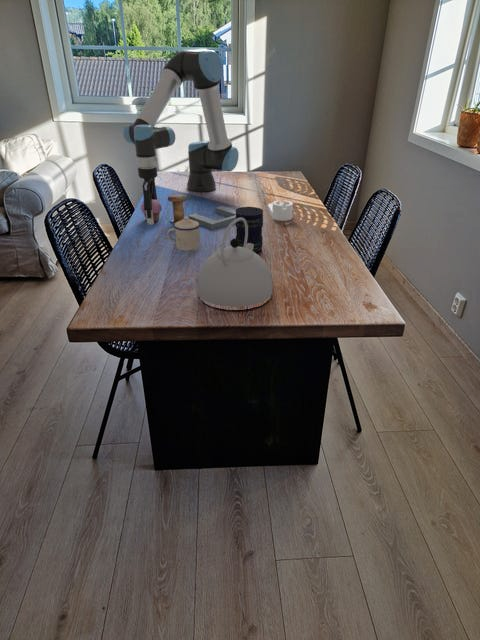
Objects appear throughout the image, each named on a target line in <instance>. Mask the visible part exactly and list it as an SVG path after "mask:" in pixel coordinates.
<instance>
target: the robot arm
mask: <svg viewBox="0 0 480 640" xmlns="http://www.w3.org/2000/svg"><path fill="white" fill-rule="evenodd" d="M223 71H224V65H223V61H222V58H221V56H220V55H219V54H218V52H216V51H215V50H211V49H183V50H180V51H178V52H177V53H176V54H174V55H173V56H172V57H171V58H170V59H169V60H168V61H167V62H166V64H165V65H164V67H163V68H162V70H161V72H160V78H159V80H158V82H157V83H156V85H155V87H154V88H153V90H152V92H151V93H150V96H149V97H148V99H147V100H146V102H145V103H144V106H143V107H142V109H141V110H140V112H139V114H138V115H137V118H136V119H135V121H134V122H133V124H127V125H125V126H124V128H123V131H122V132H123V138H124V140H125V142H127V143H128V144H131V145H134V147H135V154H136V165H137V174H138V177H139V178H140V179H143V181H144V182H142V183H143V184H142V186H141V187H142V191H143V192H142V194H143V195H142V196H143V201H144V209H143V210H146V218H147V221H146V224H147V223H151V224H150V225H153V224H154V225H155V222H154V219H153V210H152V199H154V200H158V195H157V194H158V193H157V189H156V187H157V186H156V181H155V180H156V178H157V177H158V168H157V161H158V158H156V150H158V149H163V148H169V147H171V146H173V145H174V144H175V141H176V133H175V131H174V130H173V128H172V127H169V126H161V127H158V126H155V125H156V124H157V122H158V121H159V118H160V117H161V115H162V114H163V111H165V109H166V106H167V105H168V103H169V101H170V100H171V98H172V96H173V95H174V93H175V91H176V89H179V88H181V86H182V84H183V83H184V82H187V81H189V82H191V81H192V84H193V88H194V89H195V90H196V91H198V94H199V98H200V102H201V103H200V104H201V108H202V112H203V116H204V121H205V125H206V129H207V133H208V134H207V135H208V139H209V140H201V141H194V142H190V143H189V144H188V147H187V148H188V152H187V153H188V154H187V155H188V165H189V166H188V167H189V169H188V171H189V175H188V179H187V182H186V189H187V190H189V191H192V192H197V193H198V192H210V191H214V190H216V188H217V186H216V181H215V178H214V175H213V171H219V172H220V171H221V172H225V173H226V172H228V173H229V172H230V173H231V172H232V171H234V170H235V169H236V167H237V164H238V162H239V158H240V157H239V149H237V147H235V146H233V143H232V141H231V139H230V138H228V134H227V130H226V124H225V119H224V112H223V109H222V103H221V98H220V92H219V88H218V86H219V85H220V83H221V79H222V78H223ZM146 218H145V219H146Z"/></svg>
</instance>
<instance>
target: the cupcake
mask: <svg viewBox="0 0 480 640" xmlns="http://www.w3.org/2000/svg"><path fill="white" fill-rule="evenodd" d="M143 209H144V200H143V202H142V203H141V205H140V210H141V212H142V213H143V216H144V218H145V221H146V220H147V218H146V210H143ZM162 209H163V208H162V204H161V202H160V200H159V199H157V200H154V199H152V210H153V219H154V221H158V220H159V221H160V214H161V211H162ZM159 221H158V222H159Z"/></svg>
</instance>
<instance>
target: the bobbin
mask: <svg viewBox="0 0 480 640" xmlns="http://www.w3.org/2000/svg"><path fill="white" fill-rule="evenodd" d="M187 200H188V196H187V195H185V194H181V193H178V194H170V195H168V196H167V201H168V202H171V203H172V210H173V211H172V212H173V213H172V214H173V218H174V219H173V218H172V219H173V220H174V221H173V222H172V223H171V224H173V223H176V222H178V221H181V220H183V219H184V217H185V212H184V211H185V210H184V202H185V201H187Z"/></svg>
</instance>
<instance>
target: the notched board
mask: <svg viewBox="0 0 480 640" xmlns="http://www.w3.org/2000/svg"><path fill="white" fill-rule="evenodd" d="M215 213H216V214H219V215H222V216H225V217H224V218H222V219H219V220H215V219H212V218H210V217H206V216H203V215H200V214H198V213H192V214H189V215H187V217H189V219H191V220H194V221H197V222H198V223H199V225H201V227H202V226H203V227H204V228H206V229H210V230H212V231H213V230H215V229H220V228H223V227H226V226H229V224H230V223H231V222H233V221H234V220H235V218H236V209H233V208H230V207H226V206H223V205H221V206H220V205H219V206H216V207H215Z"/></svg>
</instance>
